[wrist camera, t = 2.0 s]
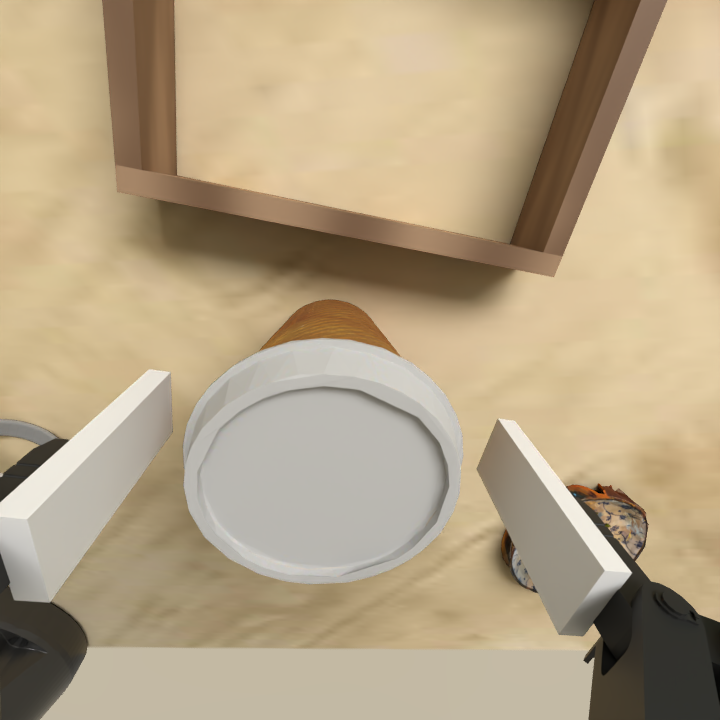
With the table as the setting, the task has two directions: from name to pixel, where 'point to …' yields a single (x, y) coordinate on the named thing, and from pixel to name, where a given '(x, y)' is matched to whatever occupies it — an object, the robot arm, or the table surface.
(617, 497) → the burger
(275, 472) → the disposable coffee cup
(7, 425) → the wristwatch
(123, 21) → the rectangular wooden frame
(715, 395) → the table surface
